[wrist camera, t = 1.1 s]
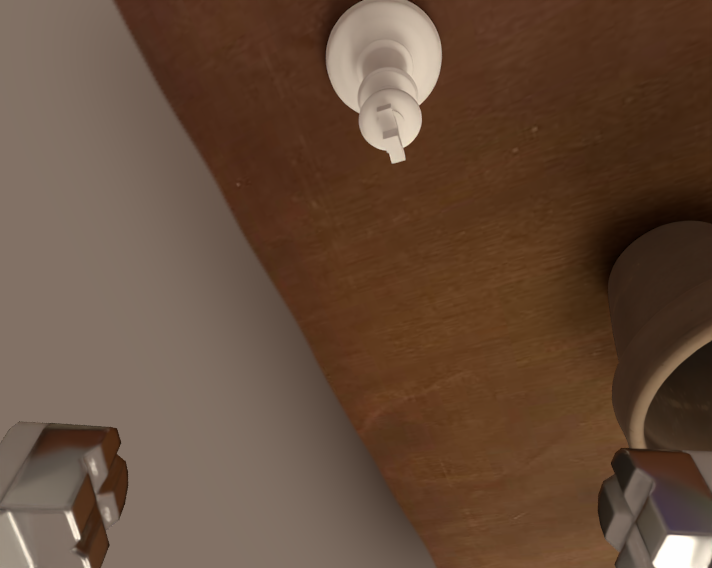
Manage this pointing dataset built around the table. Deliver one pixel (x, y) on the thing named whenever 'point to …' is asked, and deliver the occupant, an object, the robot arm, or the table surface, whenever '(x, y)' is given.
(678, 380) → the flower pot
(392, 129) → the chess piece
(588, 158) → the table surface
